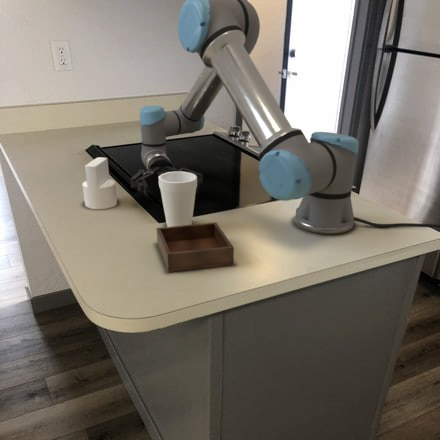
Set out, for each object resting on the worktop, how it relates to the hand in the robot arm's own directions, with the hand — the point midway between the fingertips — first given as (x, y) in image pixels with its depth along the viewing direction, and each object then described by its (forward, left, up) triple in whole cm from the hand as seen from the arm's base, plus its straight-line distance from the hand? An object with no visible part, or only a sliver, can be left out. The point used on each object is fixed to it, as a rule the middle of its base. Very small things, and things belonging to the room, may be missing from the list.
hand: (172, 189), depth 129 cm
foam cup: (-3, +7, -7) cm, 11 cm away
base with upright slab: (+22, -4, -7) cm, 24 cm away
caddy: (-11, +23, -7) cm, 26 cm away
